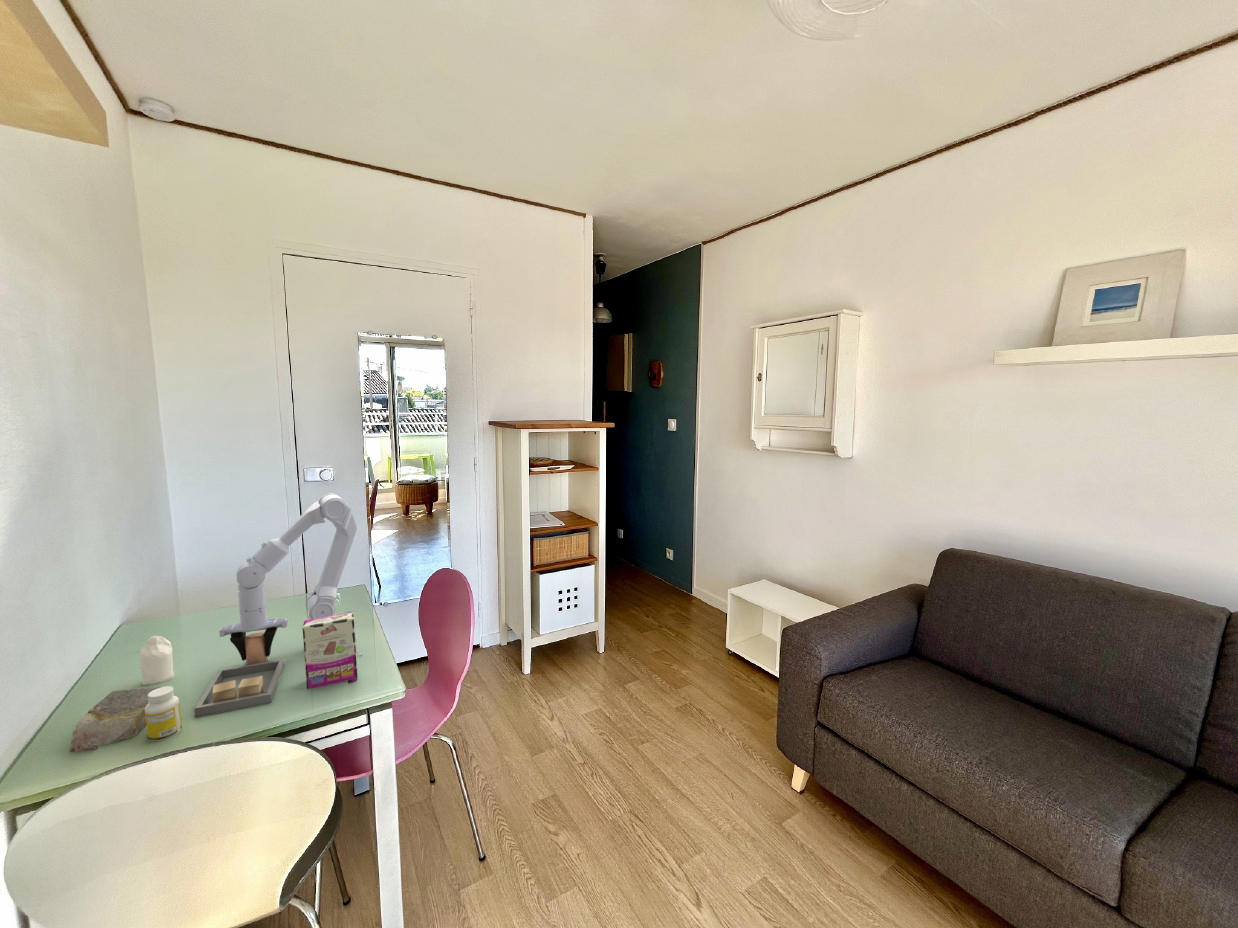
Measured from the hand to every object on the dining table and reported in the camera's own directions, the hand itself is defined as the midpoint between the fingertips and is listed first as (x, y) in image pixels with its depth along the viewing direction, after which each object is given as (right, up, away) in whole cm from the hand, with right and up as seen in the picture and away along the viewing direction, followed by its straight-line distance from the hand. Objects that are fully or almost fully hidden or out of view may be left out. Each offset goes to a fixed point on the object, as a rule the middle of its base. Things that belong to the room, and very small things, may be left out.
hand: (256, 656), depth 136 cm
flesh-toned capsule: (0, -2, 0) cm, 2 cm away
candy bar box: (+24, -4, -7) cm, 26 cm away
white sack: (-19, -3, -8) cm, 21 cm away
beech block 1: (+6, -4, -18) cm, 19 cm away
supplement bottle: (+1, -6, -29) cm, 29 cm away
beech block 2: (+10, -4, -16) cm, 19 cm away
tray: (+6, -4, -12) cm, 14 cm away
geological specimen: (-10, -6, -26) cm, 28 cm away
